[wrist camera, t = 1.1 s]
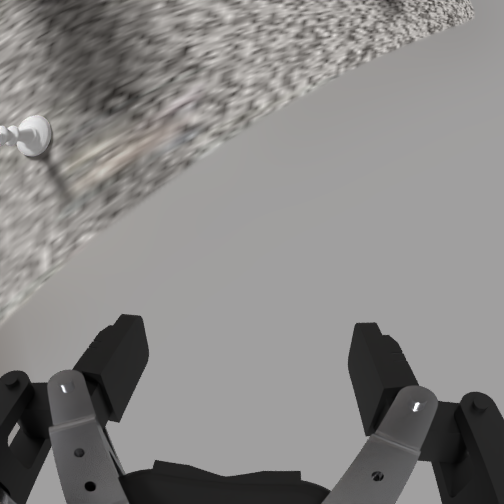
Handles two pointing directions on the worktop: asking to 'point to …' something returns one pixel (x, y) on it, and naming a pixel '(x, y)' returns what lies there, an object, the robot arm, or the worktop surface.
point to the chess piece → (28, 135)
